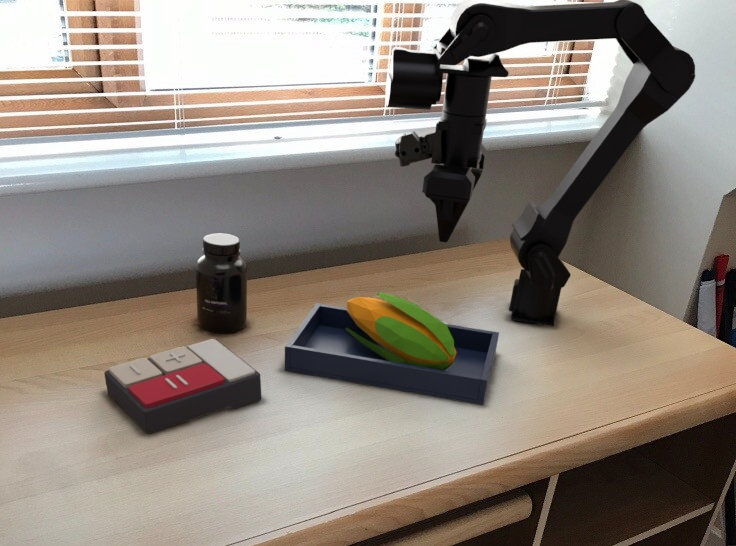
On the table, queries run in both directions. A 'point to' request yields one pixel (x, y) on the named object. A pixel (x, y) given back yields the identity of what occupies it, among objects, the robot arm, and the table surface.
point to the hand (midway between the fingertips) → (448, 231)
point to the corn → (403, 331)
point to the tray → (364, 366)
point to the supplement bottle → (221, 285)
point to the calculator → (182, 384)
